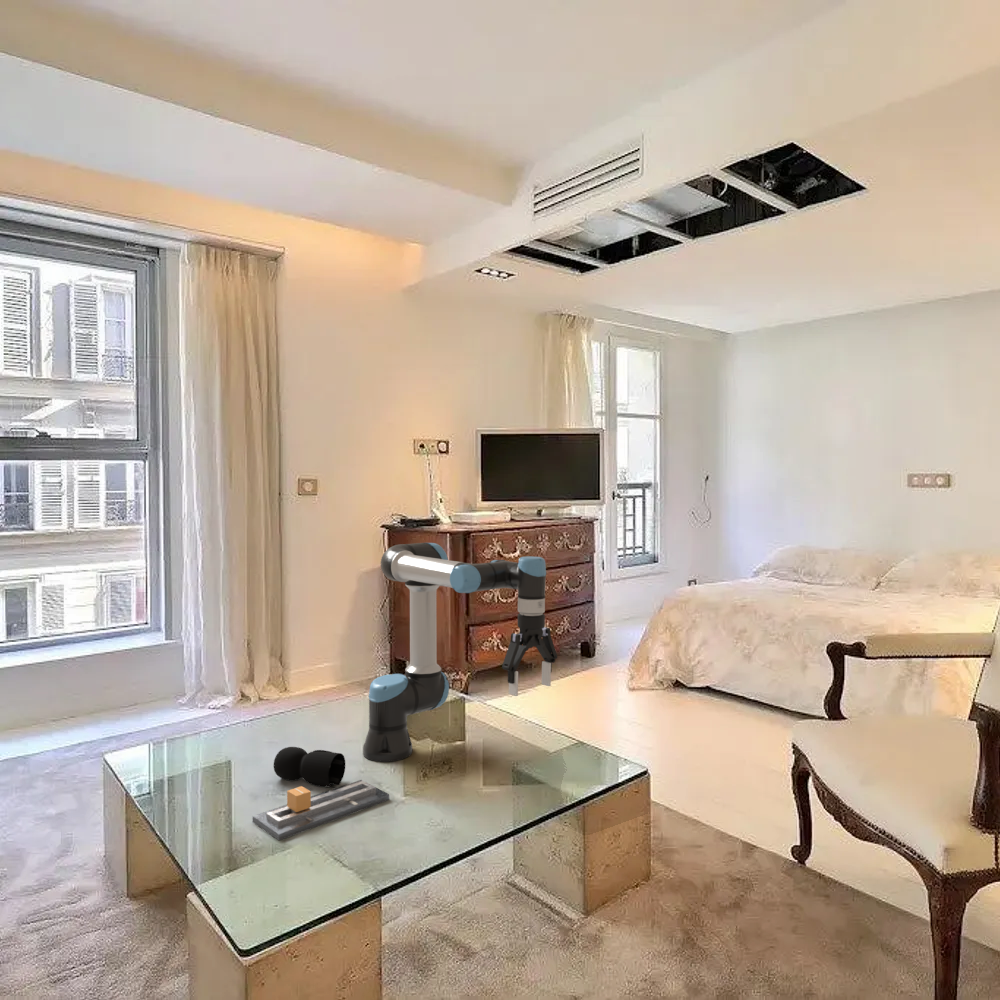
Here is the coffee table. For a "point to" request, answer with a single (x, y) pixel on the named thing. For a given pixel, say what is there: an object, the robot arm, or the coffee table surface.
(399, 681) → the robot arm
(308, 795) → the fader knob
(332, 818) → the fader panel
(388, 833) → the coffee table surface
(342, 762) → the black hourglass-shaped sleeve
